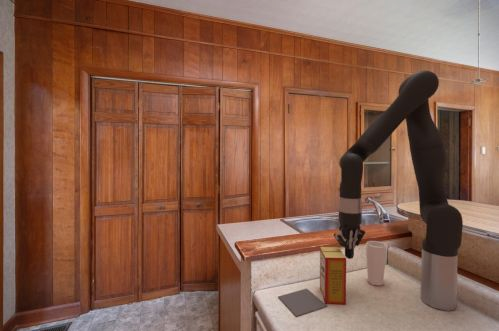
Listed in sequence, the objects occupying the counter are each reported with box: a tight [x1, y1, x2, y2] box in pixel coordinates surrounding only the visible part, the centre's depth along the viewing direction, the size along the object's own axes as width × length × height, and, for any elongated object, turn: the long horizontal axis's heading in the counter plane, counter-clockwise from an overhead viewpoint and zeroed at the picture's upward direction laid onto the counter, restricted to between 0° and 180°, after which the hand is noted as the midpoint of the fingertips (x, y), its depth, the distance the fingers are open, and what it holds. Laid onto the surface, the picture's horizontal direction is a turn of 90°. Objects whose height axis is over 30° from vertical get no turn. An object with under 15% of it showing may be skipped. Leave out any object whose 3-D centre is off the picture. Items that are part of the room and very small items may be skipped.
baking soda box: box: [319, 246, 347, 306], centre depth 85 cm, size 10×6×16 cm
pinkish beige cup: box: [365, 240, 387, 287], centre depth 93 cm, size 7×7×15 cm
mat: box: [277, 287, 328, 318], centre depth 82 cm, size 12×11×1 cm
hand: (349, 257), depth 88 cm, fingers closed
